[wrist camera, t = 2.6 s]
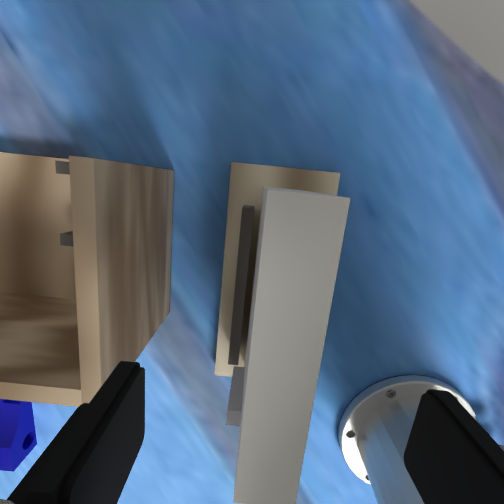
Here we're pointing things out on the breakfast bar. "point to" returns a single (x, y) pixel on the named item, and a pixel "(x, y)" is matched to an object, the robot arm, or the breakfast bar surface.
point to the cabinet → (79, 271)
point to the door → (284, 340)
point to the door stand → (251, 248)
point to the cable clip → (15, 433)
